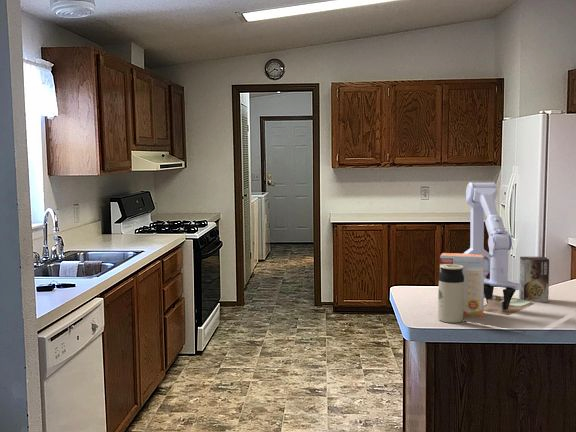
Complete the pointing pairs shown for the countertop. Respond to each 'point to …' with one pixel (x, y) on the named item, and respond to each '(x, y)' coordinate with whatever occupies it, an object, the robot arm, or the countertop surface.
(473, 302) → the cracker box
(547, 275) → the coffee box
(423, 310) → the countertop surface
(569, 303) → the countertop surface
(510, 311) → the board
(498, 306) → the white square frame
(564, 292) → the countertop surface
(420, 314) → the countertop surface
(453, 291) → the travel mug
